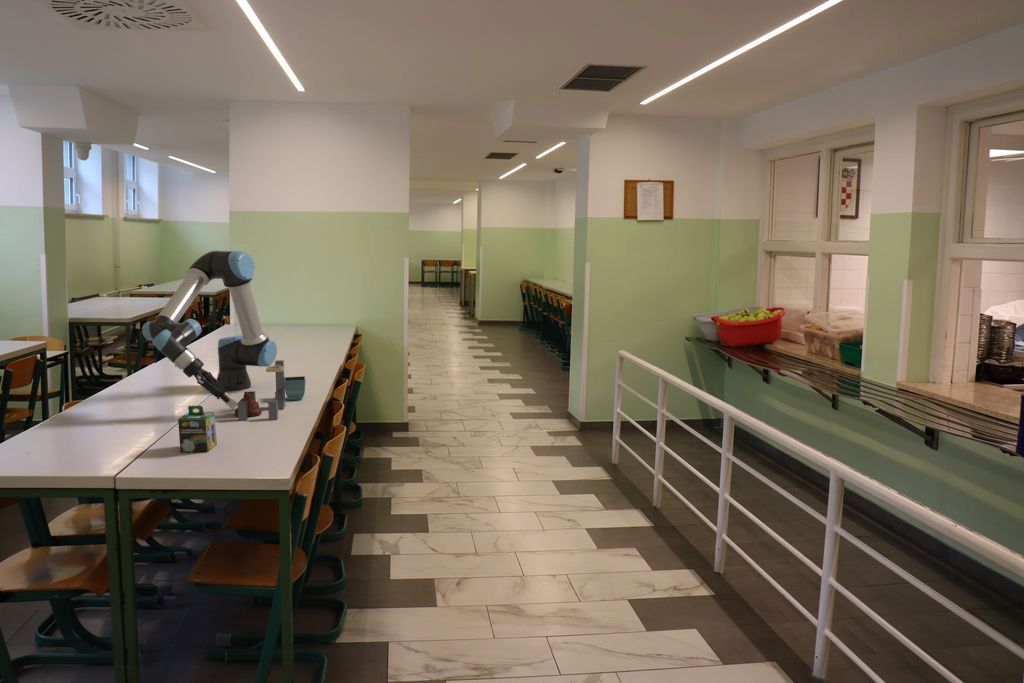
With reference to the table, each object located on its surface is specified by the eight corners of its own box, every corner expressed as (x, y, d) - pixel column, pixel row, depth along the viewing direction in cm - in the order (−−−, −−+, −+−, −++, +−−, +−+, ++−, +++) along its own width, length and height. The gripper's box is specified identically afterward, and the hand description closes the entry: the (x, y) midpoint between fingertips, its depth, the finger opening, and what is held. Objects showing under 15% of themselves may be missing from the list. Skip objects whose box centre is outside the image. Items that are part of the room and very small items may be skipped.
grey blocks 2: (268, 420, 304) (268, 401, 303) (276, 408, 324) (276, 391, 322) (276, 419, 304) (276, 401, 303) (284, 407, 324) (283, 390, 323)
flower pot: (284, 402, 334) (283, 380, 333) (284, 397, 343) (283, 377, 342) (306, 401, 337) (305, 380, 336) (305, 396, 345) (305, 376, 344)
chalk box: (217, 445, 270) (215, 401, 268) (207, 452, 261) (205, 408, 258) (189, 444, 269) (187, 401, 267) (179, 452, 260) (176, 408, 258)
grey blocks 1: (238, 420, 302) (237, 402, 301) (248, 408, 322) (247, 391, 321) (246, 420, 303) (246, 402, 302) (256, 408, 322) (255, 391, 321)
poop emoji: (233, 418, 307) (232, 394, 305) (236, 412, 315) (235, 389, 313) (260, 417, 308) (259, 393, 307) (263, 411, 317) (262, 388, 315)
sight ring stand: (267, 415, 311) (265, 367, 308) (273, 406, 326) (272, 360, 323) (283, 415, 311) (282, 367, 309) (289, 406, 327) (287, 360, 324)
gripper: (186, 367, 311) (232, 409, 316) (177, 373, 299) (224, 417, 303) (200, 354, 311) (245, 396, 316) (191, 359, 298) (238, 403, 303)
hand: (235, 406), depth 309 cm, fingers closed
